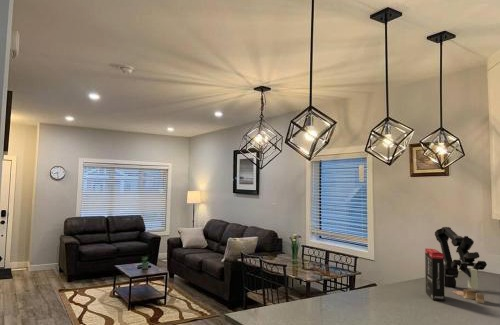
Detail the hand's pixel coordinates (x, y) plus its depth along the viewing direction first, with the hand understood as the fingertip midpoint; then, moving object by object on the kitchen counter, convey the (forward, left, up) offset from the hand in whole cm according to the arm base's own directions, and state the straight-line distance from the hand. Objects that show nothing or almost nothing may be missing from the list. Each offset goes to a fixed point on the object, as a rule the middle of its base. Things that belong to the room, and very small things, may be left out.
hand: (473, 277), depth 216 cm
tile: (-4, +12, -13) cm, 18 cm away
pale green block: (0, +1, -7) cm, 7 cm away
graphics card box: (-21, -6, -13) cm, 26 cm away
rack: (0, 0, -13) cm, 13 cm away
